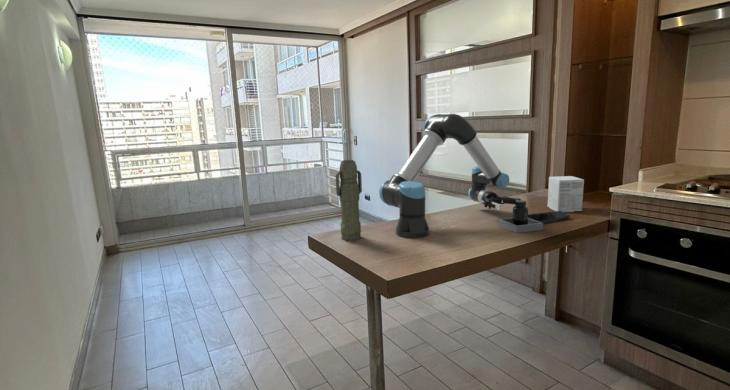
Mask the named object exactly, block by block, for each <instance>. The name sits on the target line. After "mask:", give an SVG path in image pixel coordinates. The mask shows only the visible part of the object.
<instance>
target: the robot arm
mask: <svg viewBox="0 0 730 390" xmlns="http://www.w3.org/2000/svg"><path fill="white" fill-rule="evenodd" d="M422 135H423V137H422V139H420V141H419V142H418V143H417V145H416V146H415V148H414V150H413V151H412V153H411V154H410V155H409V156H408V158H407V160H406V161H405V163H404V164H403V165H402V167H401V169H399V172H398V173H393V175H392V176H391V178H390V179H389V180H385V181H383V182H382V183H381V185H380V187H379V191H378V192H379V193H378V194H379V198H380V200H381V201H382V202H383V203H384V204H385V205H388V206H390V207H394V208H399V218H398V221H397V224H396V228H395V234H396V236H398V237H401V238H406V239H407V238H408V239H419V238H424V237H426V236H429V234H430V227H429V225H428V221H427V219H426V188H425V185H424V184H423V183H421V182H418V181H415V180H416V179H417V178H418V177H419V175H420V173H421V172H422V171H423V169H424V167H425V166H426V165H427V163H428V162H429V160H430V158H431V157H432V155H433V154H434V152H435V151H436V149H437V148H438V147H439V146H440V147H441V146H443V145H444V143H445V142H446V140H447V139H454V140H455V141H457V143H458V144H459V145H460V146H463V147H464V149H465V150H466V151H467V153H468V154H469V156H470V157H471V159H472V161H474V163H475V164H476V165H477V166H473V167H472V168H471V187H470V188H469V189H468V191H467V194H468V198H469V199H470V200H471V201H473V202H476V203H477V202H478V203H480V204H482V205H483V207H484V208H488V210H491V209H494V210H497V211H501V210H502V205H505V204H506V205H507V204H508V205H515V201H517V200H522V198H519V197H517V198H515V197H509V196H503V197H502V196H499V195H498V194H497V193H496V192H493V191H490V190H487V188H486V187H487V186H489V187H494V188H503V189H504V188H506V187H507V186H509V183H510V176H509V175H508V174H507V173H504V172H502V171H501V170H500V168H499V167H498V166H497V164H496V163H495V162H494V160H493V158H492V157H491V155H490V154H489V152H488V151H487V149H486V148H485V147H484V145H483V143H482V142H481V141H480V139H479V138H478V136H477V135H478V134H477V131H476V130H475V128H474V127H473V125H472V124H471V123H470V122H469V121H468V120H467V119H466V118H464V117H463V116H461V115H459V114H457V113H447V114H444V113H443V114H440V113H439V114H433V115H430V116H429V117H427V118H426V120H425V122H424V124H423V132H422Z"/></svg>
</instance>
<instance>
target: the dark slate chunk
mask: <svg viewBox="0 0 730 390" xmlns="http://www.w3.org/2000/svg"><path fill="white" fill-rule="evenodd" d="M570 217H571V216H570V215H569V214H568V213H567V212H562V211H547V212H538V213H531V214H530V213H528V218H530V219H533V220H536V221H538V222H541V223H543V225H545V224H552V223H555V222H560V221H564V220H566V219H568V218H570Z"/></svg>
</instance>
